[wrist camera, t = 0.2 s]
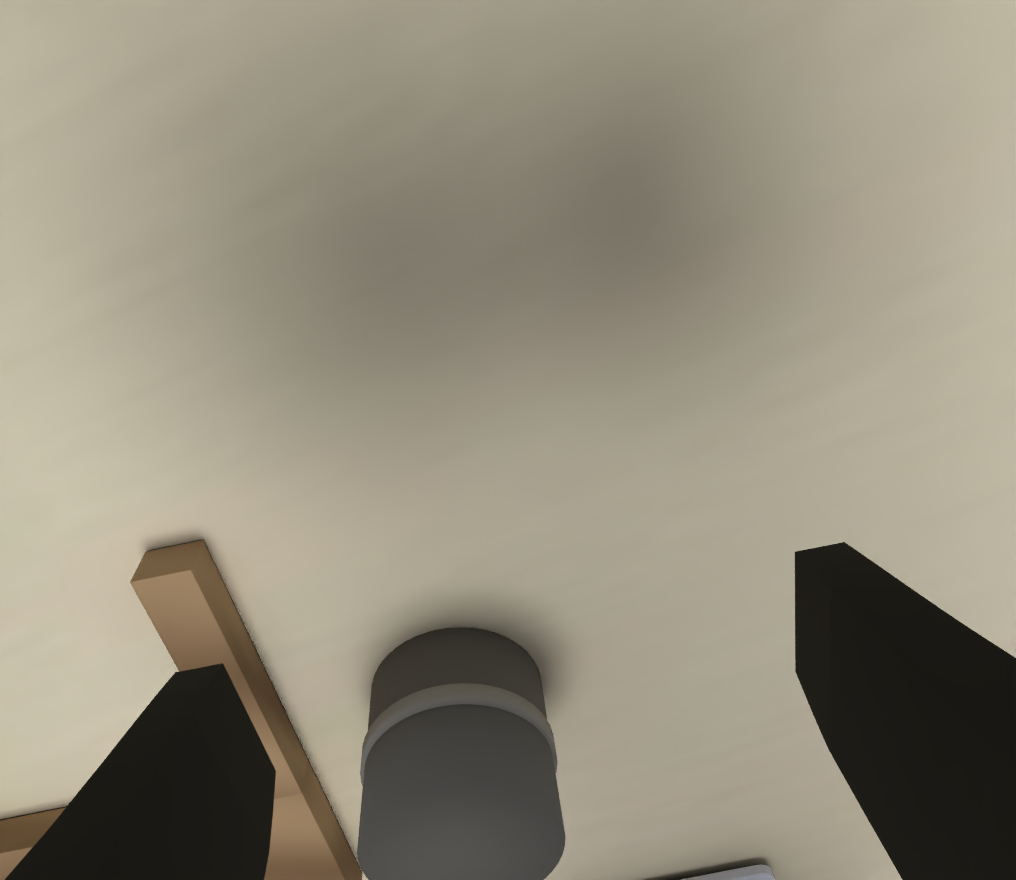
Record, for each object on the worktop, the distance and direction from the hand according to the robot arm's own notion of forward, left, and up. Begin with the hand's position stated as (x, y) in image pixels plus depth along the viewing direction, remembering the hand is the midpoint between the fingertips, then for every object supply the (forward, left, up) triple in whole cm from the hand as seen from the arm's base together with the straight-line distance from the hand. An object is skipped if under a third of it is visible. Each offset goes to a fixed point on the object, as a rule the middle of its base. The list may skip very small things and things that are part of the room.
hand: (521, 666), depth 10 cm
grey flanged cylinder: (-10, +3, -10) cm, 14 cm away
